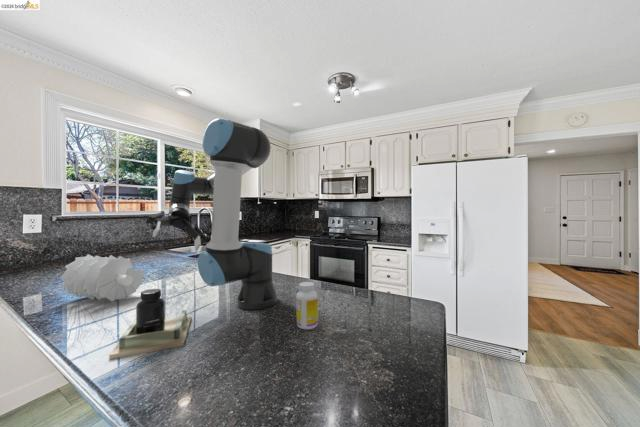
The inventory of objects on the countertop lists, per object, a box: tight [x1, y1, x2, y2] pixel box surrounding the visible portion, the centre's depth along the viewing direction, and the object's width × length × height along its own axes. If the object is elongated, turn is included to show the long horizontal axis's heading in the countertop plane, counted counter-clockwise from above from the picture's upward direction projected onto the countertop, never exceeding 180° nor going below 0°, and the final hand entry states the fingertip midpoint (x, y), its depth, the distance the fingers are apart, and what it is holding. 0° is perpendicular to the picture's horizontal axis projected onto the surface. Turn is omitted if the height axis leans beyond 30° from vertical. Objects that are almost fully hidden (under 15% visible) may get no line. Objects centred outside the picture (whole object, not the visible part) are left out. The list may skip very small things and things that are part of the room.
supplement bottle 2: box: [295, 281, 319, 330], centre depth 79 cm, size 7×7×13 cm
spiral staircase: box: [60, 253, 146, 302], centre depth 105 cm, size 18×18×25 cm
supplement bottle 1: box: [135, 288, 166, 335], centre depth 73 cm, size 7×7×12 cm
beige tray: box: [108, 309, 192, 360], centre depth 73 cm, size 18×16×4 cm
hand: (177, 240), depth 85 cm, fingers open, 13 cm apart
